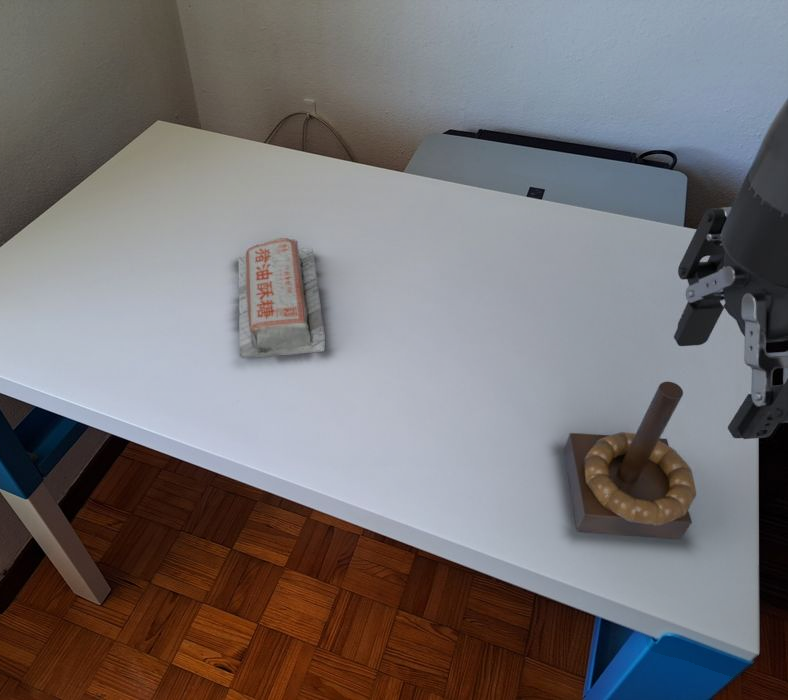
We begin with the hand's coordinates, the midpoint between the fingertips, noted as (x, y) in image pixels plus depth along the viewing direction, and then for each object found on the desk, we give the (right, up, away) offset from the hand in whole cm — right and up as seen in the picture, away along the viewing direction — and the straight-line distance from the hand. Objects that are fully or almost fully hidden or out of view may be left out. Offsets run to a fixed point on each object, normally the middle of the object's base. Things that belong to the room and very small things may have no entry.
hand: (714, 384), depth 48 cm
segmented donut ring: (+1, -9, +13) cm, 16 cm away
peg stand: (+1, -11, +17) cm, 20 cm away
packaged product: (-33, +8, +37) cm, 50 cm away
